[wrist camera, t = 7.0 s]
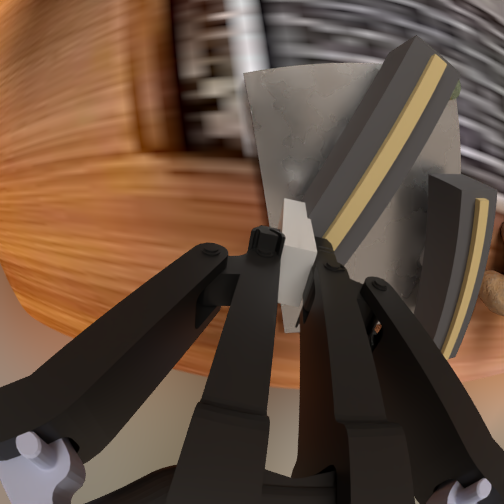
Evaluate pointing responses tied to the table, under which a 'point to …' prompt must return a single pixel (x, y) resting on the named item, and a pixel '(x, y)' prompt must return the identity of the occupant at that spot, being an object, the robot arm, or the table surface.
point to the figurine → (493, 289)
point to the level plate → (319, 147)
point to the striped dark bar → (379, 145)
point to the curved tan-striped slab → (453, 256)
